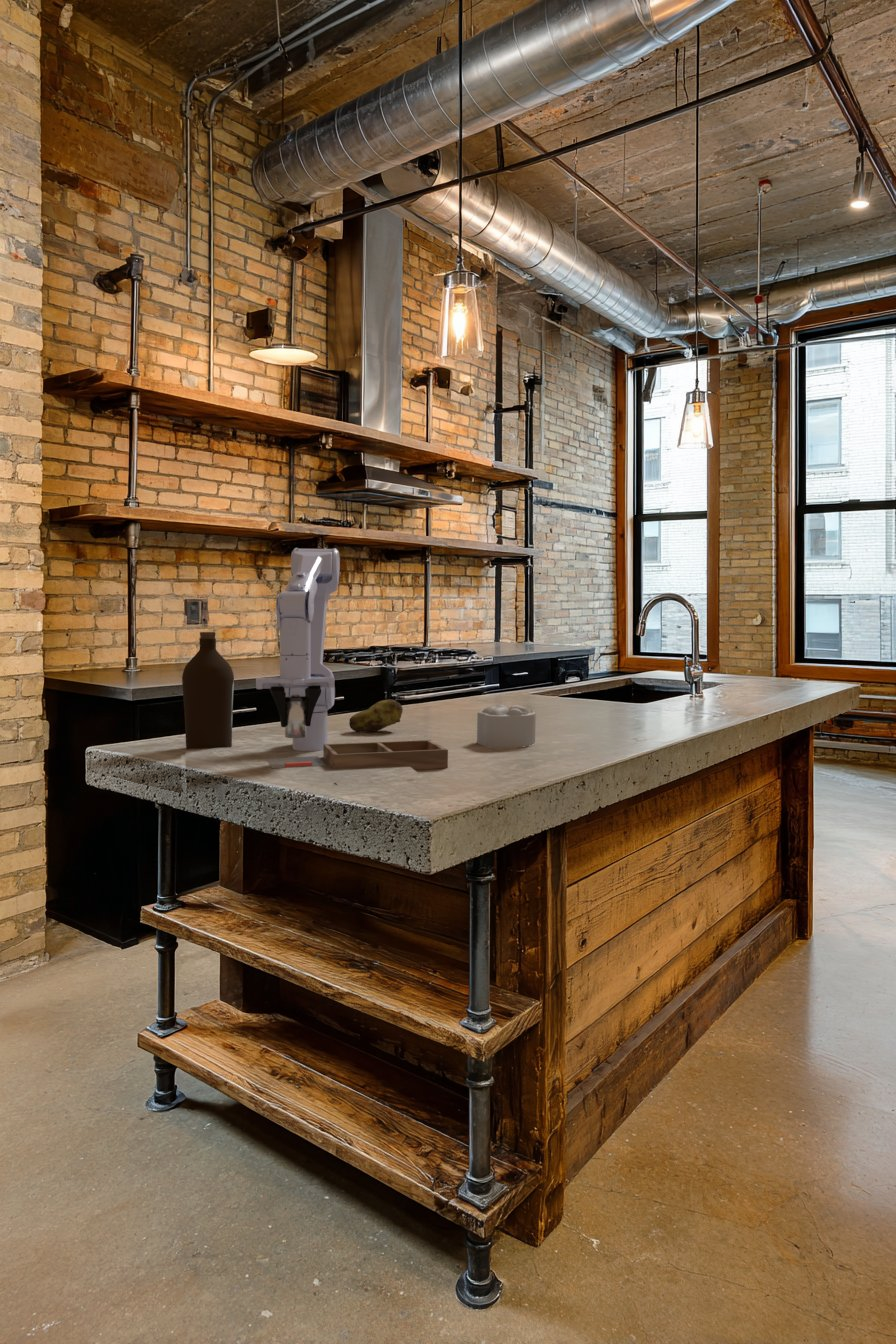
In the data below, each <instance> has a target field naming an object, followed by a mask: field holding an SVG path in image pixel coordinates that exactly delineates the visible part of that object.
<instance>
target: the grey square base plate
mask: <svg viewBox="0 0 896 1344" xmlns="http://www.w3.org/2000/svg"><path fill="white" fill-rule="evenodd" d="M266 760H267V762H268V764H269V766H270V767H271V769H289V768H307V767H309V768H310V767H327V765H326V763H324V761H323V760H322V759H321V758H320V757H319V756H314V755H313V756H293V757H273V758H270V757H269V758H266Z"/></svg>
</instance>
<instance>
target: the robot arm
mask: <svg viewBox="0 0 896 1344" xmlns="http://www.w3.org/2000/svg"><path fill="white" fill-rule="evenodd" d="M290 554H291V556H290V567H291V573H292V576H290V578H289V579H288V582H287V584H286V587H285V590H283V591H281V593H278V594H277V595H276V599H275V600H276V601H275V612H276V619H277V630H278V631H279V675H280V676H277V677H276V676H275V677H256V678H255V688H256V690H263V689H265V690H266V689H268V690H269V691H270V694H271V696H272V698H273V699H272V700H274V703H275V706H276V709H277V711H278V716H279V720H280V726H281V728H285V727H286V715H285V697H286V696H292V695H293V694H298V695H299V696H306V737H303V738H292V749H293V750H295V751H301V752H318V751H323V744H328V711H329V710H330V709H332V707H333V706H334V705H335V697H336V687H335V681H336V680H335V676H334V673H333V671H332V670H331V669H329V668H328V667H327V666H325V665H324V663H323V661H324V648H325V647H324V646H325V637H326V635H325V634H326V622H327V610H328V608H327V607H328V603H329V600H330V595H331V594H332V593H334V592H337V591H338V586H339V583H340V582H339V581H340V569H341V564H340V563H341V559H340V552H339V550H338V549H337V548H335V547H334V548H299V547H295V548H293V550H292V551H291V553H290Z"/></svg>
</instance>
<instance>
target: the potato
mask: <svg viewBox="0 0 896 1344" xmlns="http://www.w3.org/2000/svg"><path fill="white" fill-rule="evenodd" d="M403 711H404V710H403V705H402V704H401V703H400V702H398V700H395V699H391V698H388V699H382V700H379V701H377V702H376V703H374V704H373V705H371V706H370V707H369V708H368V709H364V710H361V711H360V712H357V713H355V714H354V715H352V716H350V718H349V723H348V724H349V728H350V729H351V730H352V731H354V732H356V733H360V732H362V733H365V732H366V733H370V732H377V731H381V730H383V729H384V728H387V727H390V726H393V725H396V724H397V723H400V722H401V717H402V714H403Z"/></svg>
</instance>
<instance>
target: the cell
mask: <svg viewBox="0 0 896 1344" xmlns="http://www.w3.org/2000/svg"><path fill="white" fill-rule="evenodd" d="M285 715H286V727H284V737H285V738H287V739H293V738H303V737H306V696H299V695H298V694H293V695H292V696H286V697H285Z"/></svg>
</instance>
